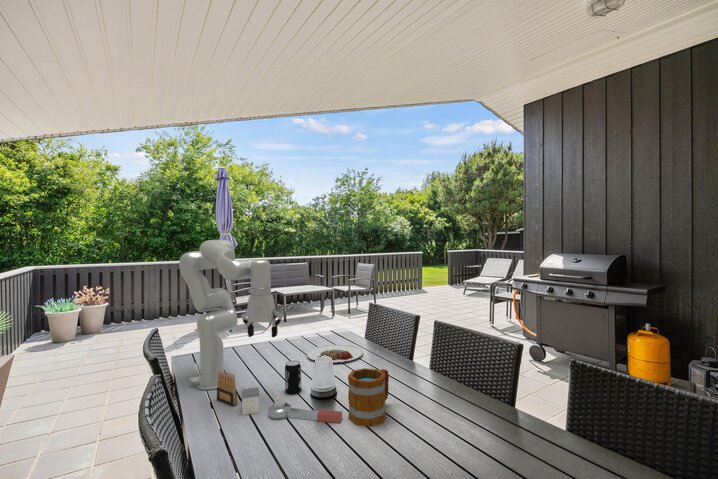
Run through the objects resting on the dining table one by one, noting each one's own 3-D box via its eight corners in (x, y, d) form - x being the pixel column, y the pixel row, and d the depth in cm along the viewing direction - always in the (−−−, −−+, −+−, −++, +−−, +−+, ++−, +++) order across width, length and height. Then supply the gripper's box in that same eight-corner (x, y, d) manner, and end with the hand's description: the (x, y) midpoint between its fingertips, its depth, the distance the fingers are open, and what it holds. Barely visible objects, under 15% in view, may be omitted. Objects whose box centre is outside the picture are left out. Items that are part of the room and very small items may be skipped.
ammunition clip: (237, 405, 145) (236, 373, 145) (233, 406, 144) (232, 375, 144) (220, 398, 152) (220, 368, 152) (216, 400, 150) (216, 369, 150)
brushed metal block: (242, 415, 137) (241, 395, 137) (242, 407, 143) (242, 389, 143) (259, 412, 139) (259, 393, 139) (259, 405, 145) (258, 387, 144)
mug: (371, 430, 124) (370, 385, 124) (340, 419, 133) (339, 376, 133) (403, 408, 140) (402, 368, 140) (373, 399, 148) (372, 361, 148)
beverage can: (297, 395, 153) (297, 365, 153) (282, 394, 155) (282, 365, 154) (303, 389, 160) (303, 360, 160) (288, 388, 161) (288, 359, 161)
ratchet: (264, 418, 134) (264, 401, 134) (274, 408, 142) (274, 392, 142) (337, 426, 128) (337, 408, 128) (344, 415, 135) (343, 398, 135)
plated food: (315, 347, 221) (315, 341, 221) (366, 348, 217) (366, 342, 217) (300, 364, 191) (299, 358, 191) (358, 366, 187) (358, 359, 187)
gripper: (235, 293, 145) (237, 338, 144) (277, 293, 141) (279, 339, 141) (245, 291, 152) (247, 333, 152) (285, 290, 148) (287, 334, 148)
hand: (262, 336), depth 146 cm, fingers open, 9 cm apart
